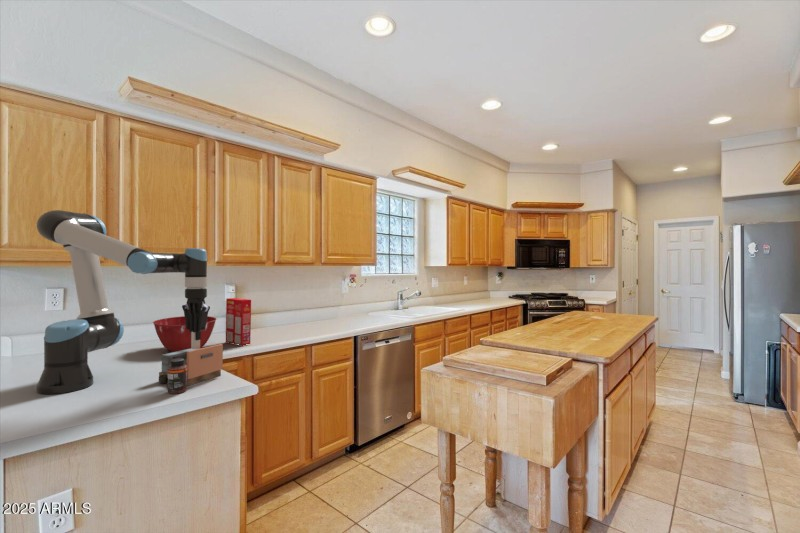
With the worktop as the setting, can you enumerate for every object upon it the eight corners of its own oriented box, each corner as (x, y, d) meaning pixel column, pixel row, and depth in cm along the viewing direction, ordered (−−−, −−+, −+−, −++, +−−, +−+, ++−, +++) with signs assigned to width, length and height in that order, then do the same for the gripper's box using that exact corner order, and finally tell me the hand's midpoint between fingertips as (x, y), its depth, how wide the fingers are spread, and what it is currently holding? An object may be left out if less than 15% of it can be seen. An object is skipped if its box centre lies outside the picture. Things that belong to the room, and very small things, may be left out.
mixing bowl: (188, 358, 177) (189, 325, 177) (137, 353, 183) (138, 322, 183) (227, 345, 205) (227, 317, 205) (182, 342, 211) (182, 314, 211)
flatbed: (180, 388, 136) (180, 360, 136) (155, 382, 142) (155, 356, 142) (223, 374, 153) (223, 350, 153) (199, 370, 159) (199, 346, 159)
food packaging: (250, 344, 209) (251, 299, 208) (241, 346, 204) (242, 300, 204) (234, 341, 216) (234, 297, 216) (225, 342, 212) (226, 298, 212)
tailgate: (189, 379, 137) (189, 352, 137) (186, 378, 138) (186, 351, 138) (223, 369, 151) (224, 344, 151) (220, 368, 151) (221, 344, 151)
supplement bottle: (183, 387, 137) (183, 356, 137) (189, 391, 133) (190, 359, 133) (164, 391, 133) (165, 359, 133) (171, 395, 129) (171, 362, 129)
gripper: (216, 287, 147) (215, 347, 148) (193, 286, 153) (192, 344, 153) (199, 289, 140) (198, 351, 141) (175, 287, 146) (175, 348, 146)
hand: (195, 348), depth 147 cm, fingers closed
